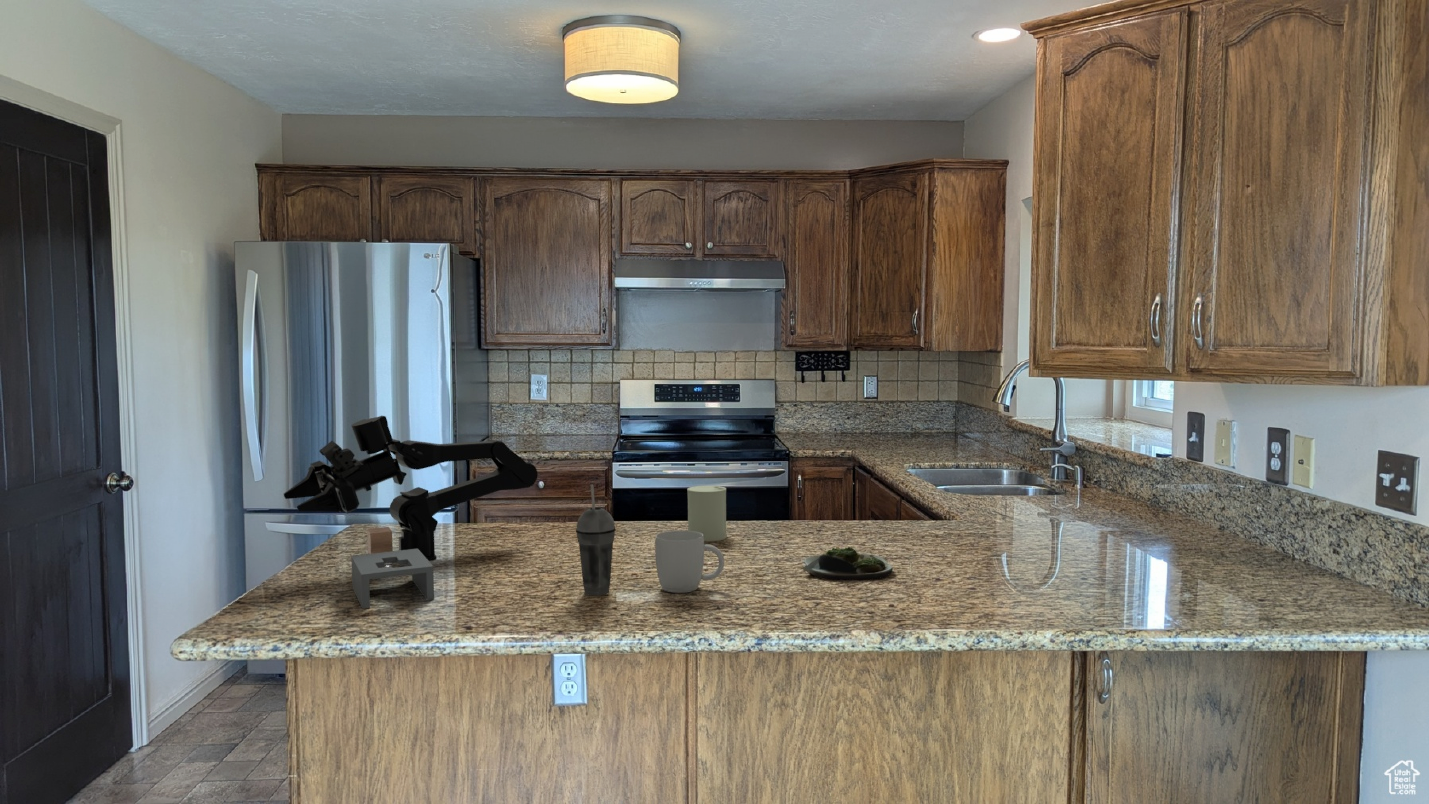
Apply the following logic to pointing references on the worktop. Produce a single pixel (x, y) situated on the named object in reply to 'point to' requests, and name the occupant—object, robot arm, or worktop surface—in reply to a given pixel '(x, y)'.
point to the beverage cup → (596, 548)
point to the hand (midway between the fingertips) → (290, 502)
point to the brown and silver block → (380, 542)
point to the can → (707, 512)
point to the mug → (683, 560)
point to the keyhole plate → (391, 571)
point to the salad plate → (847, 565)
